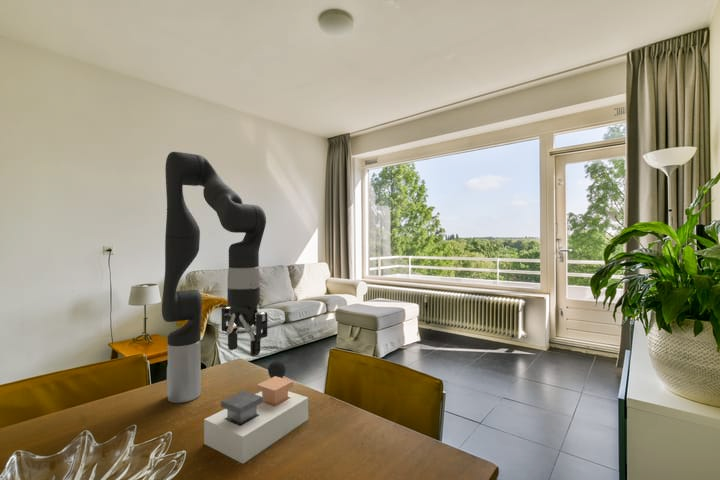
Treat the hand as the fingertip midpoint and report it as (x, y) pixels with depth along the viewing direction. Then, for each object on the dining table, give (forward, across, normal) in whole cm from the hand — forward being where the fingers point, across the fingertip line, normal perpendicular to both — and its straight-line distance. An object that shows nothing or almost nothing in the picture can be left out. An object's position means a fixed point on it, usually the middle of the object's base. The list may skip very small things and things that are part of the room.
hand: (243, 352), depth 85 cm
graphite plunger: (+18, 0, 0) cm, 18 cm away
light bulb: (+22, -13, +24) cm, 35 cm away
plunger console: (+22, 0, +5) cm, 22 cm away
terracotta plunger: (+18, 0, +11) cm, 21 cm away
